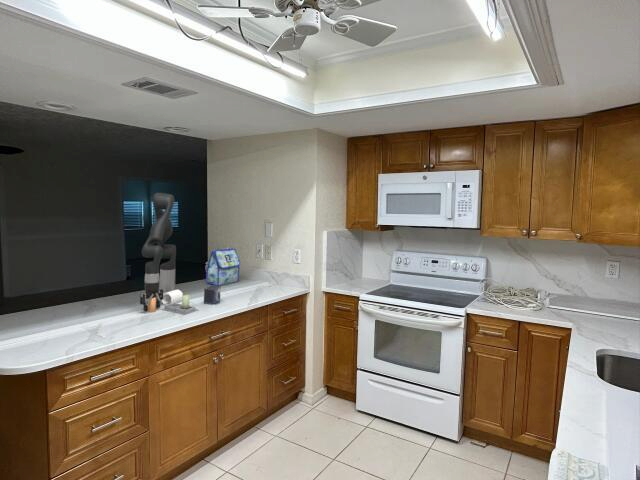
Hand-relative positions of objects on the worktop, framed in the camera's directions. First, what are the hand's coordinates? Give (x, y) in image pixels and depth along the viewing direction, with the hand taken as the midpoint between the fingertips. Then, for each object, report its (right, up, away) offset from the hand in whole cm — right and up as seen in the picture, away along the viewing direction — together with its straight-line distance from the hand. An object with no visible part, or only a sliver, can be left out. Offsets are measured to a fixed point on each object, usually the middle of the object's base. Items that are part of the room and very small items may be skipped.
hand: (151, 309), depth 223 cm
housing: (+14, -2, +6) cm, 15 cm away
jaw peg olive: (+17, -2, +4) cm, 18 cm away
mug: (+2, 0, +21) cm, 21 cm away
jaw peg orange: (0, -2, 0) cm, 2 cm away
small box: (+27, -1, +25) cm, 37 cm away
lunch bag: (+20, +6, +83) cm, 86 cm away
